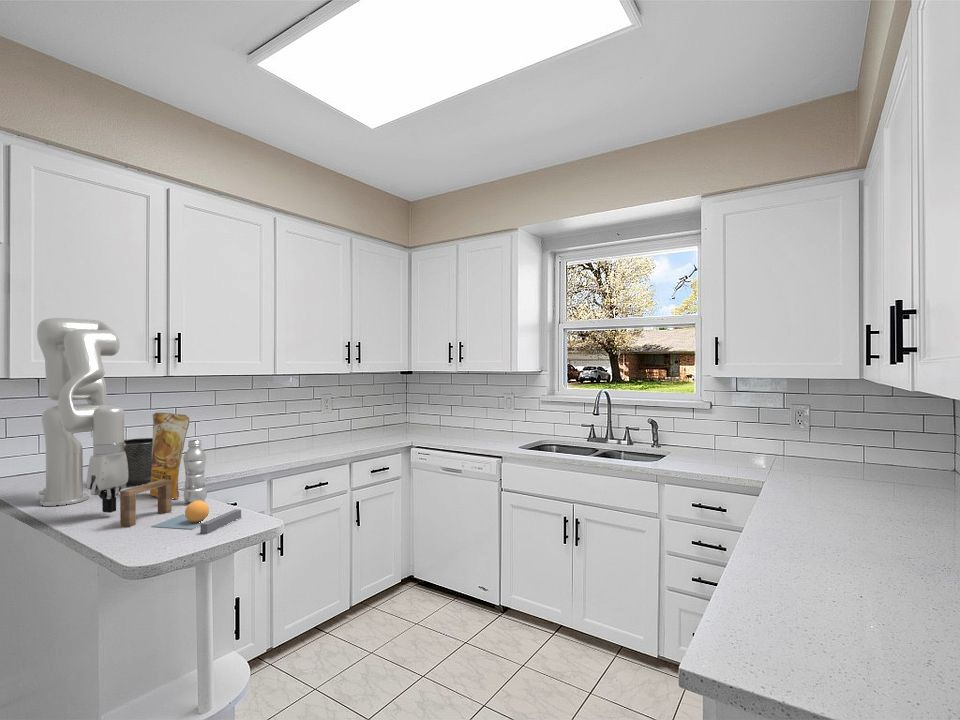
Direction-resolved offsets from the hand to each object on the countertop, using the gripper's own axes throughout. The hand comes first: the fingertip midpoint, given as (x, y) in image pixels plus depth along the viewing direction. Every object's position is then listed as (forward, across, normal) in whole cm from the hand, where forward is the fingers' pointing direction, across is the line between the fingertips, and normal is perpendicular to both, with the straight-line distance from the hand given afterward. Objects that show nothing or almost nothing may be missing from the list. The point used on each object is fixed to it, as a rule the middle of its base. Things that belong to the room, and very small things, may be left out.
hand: (109, 511), depth 155 cm
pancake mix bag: (+2, -24, -2) cm, 24 cm away
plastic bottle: (+2, -18, +14) cm, 23 cm away
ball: (-2, 0, +30) cm, 30 cm away
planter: (+2, -38, -28) cm, 47 cm away
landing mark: (+2, 0, +27) cm, 27 cm away
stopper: (+2, +2, +39) cm, 39 cm away
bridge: (+2, 0, +13) cm, 13 cm away
